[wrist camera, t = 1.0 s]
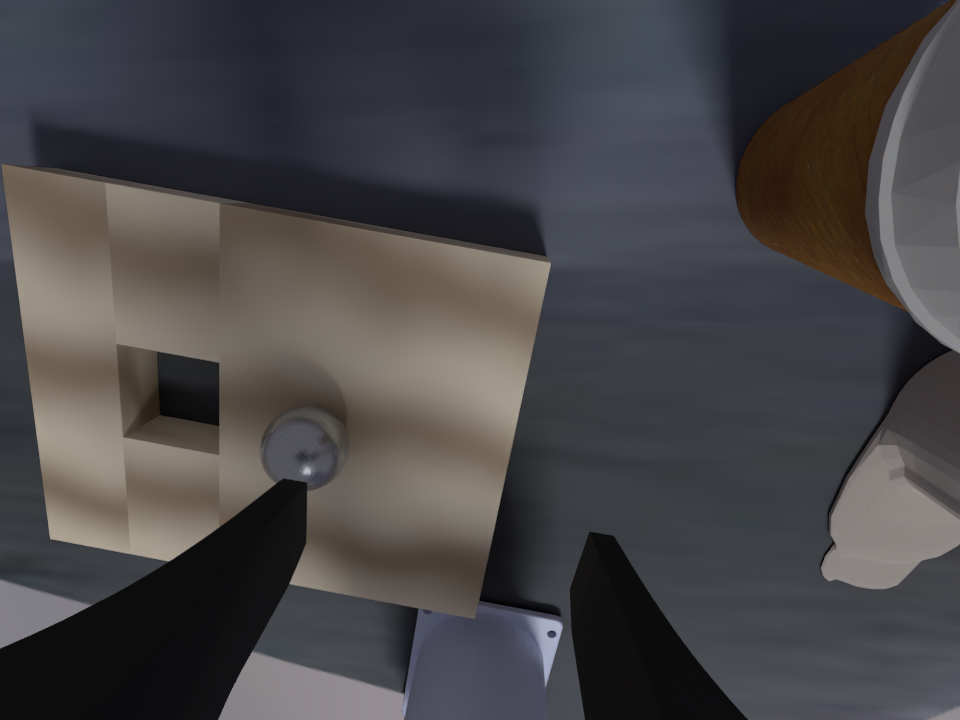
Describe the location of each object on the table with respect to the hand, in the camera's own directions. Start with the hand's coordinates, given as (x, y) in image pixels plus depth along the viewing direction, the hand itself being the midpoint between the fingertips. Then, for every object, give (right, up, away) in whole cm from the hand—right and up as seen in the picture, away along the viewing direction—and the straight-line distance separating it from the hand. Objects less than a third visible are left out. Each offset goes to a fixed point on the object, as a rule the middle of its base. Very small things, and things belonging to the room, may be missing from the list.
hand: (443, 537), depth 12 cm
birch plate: (-9, +3, +12) cm, 15 cm away
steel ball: (-6, +1, +8) cm, 10 cm away
